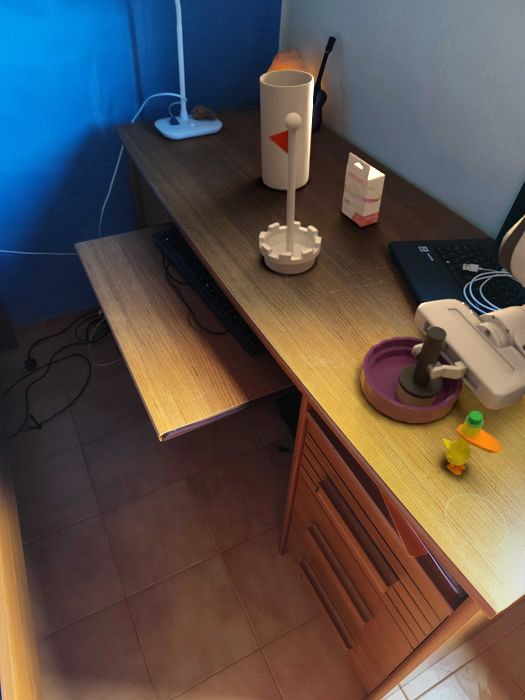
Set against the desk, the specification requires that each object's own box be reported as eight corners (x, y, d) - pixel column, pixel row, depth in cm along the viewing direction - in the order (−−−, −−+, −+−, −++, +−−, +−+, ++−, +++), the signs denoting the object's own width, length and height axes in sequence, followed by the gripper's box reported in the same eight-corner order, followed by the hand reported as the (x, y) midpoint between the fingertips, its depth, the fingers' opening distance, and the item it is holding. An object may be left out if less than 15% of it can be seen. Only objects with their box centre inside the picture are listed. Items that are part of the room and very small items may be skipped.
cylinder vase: (294, 196, 120) (297, 90, 102) (253, 184, 125) (249, 81, 107) (316, 176, 127) (322, 74, 109) (277, 166, 132) (277, 67, 114)
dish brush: (444, 404, 73) (471, 342, 63) (408, 415, 71) (429, 354, 61) (421, 374, 77) (443, 312, 67) (387, 385, 76) (404, 323, 66)
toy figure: (484, 474, 65) (516, 425, 56) (473, 492, 63) (504, 444, 55) (440, 446, 68) (464, 396, 60) (428, 463, 66) (451, 413, 58)
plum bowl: (475, 409, 73) (483, 393, 70) (389, 437, 70) (394, 421, 67) (421, 343, 83) (427, 327, 80) (344, 366, 80) (346, 349, 77)
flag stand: (330, 253, 102) (344, 108, 81) (299, 284, 95) (306, 134, 73) (280, 235, 108) (281, 95, 86) (247, 264, 100) (240, 118, 79)
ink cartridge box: (378, 222, 111) (389, 161, 100) (361, 228, 109) (370, 167, 98) (357, 206, 116) (365, 147, 105) (340, 211, 114) (347, 152, 104)
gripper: (465, 283, 76) (389, 302, 73) (558, 372, 62) (471, 400, 59) (454, 312, 80) (383, 331, 77) (539, 401, 67) (457, 428, 64)
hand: (421, 362), depth 68 cm, fingers closed on dish brush, 2 cm apart
